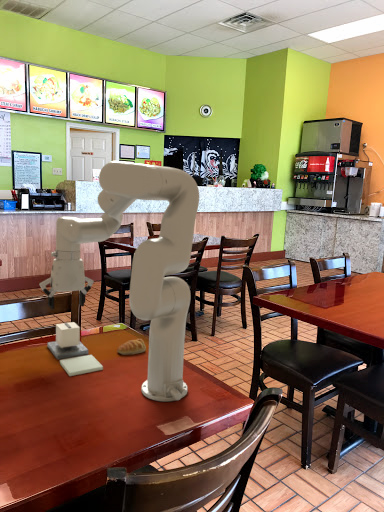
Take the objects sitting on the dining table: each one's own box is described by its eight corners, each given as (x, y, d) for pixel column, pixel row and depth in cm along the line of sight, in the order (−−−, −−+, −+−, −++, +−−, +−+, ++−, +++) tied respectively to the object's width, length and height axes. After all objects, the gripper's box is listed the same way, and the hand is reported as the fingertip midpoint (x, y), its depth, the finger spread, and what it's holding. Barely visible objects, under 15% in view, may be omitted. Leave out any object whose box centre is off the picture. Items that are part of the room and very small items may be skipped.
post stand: (88, 354, 133) (88, 332, 132) (57, 359, 128) (57, 336, 127) (76, 342, 143) (77, 321, 142) (47, 346, 138) (47, 325, 137)
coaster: (102, 369, 123) (102, 366, 122) (69, 376, 117) (69, 372, 117) (91, 357, 131) (91, 354, 131) (59, 363, 125) (59, 360, 125)
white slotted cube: (79, 344, 134) (79, 326, 133) (61, 347, 131) (61, 329, 130) (73, 339, 139) (74, 321, 138) (55, 341, 136) (56, 323, 135)
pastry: (123, 358, 132) (123, 347, 132) (113, 351, 137) (113, 340, 137) (147, 352, 138) (147, 341, 138) (136, 346, 143) (137, 335, 143)
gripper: (43, 258, 123) (42, 312, 126) (98, 256, 132) (96, 307, 135) (37, 254, 129) (36, 306, 132) (90, 252, 139) (88, 301, 141)
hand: (66, 306), depth 134 cm, fingers open, 9 cm apart
